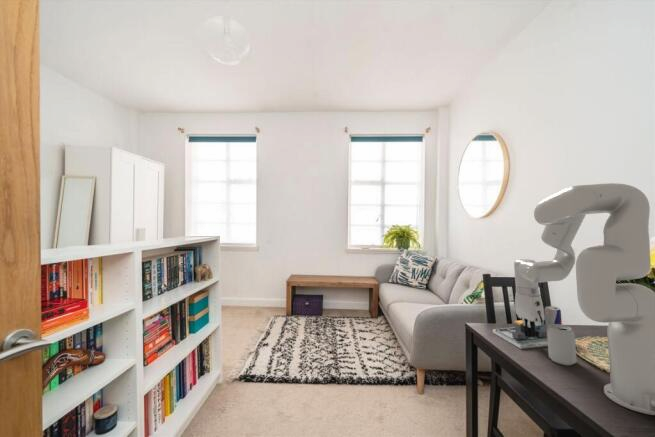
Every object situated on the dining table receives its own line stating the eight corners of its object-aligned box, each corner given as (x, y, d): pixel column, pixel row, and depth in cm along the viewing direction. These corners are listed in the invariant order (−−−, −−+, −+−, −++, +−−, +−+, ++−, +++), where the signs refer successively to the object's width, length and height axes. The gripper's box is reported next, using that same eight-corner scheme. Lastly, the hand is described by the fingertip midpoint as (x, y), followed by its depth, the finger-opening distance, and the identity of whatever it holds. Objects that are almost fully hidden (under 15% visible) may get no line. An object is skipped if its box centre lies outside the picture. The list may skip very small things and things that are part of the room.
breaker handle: (528, 335, 116) (527, 322, 116) (521, 336, 116) (520, 323, 116) (522, 332, 119) (521, 320, 119) (515, 333, 119) (514, 320, 119)
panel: (555, 345, 110) (554, 333, 110) (520, 348, 109) (519, 337, 109) (523, 329, 126) (522, 319, 126) (492, 332, 125) (492, 322, 125)
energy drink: (566, 339, 114) (564, 309, 114) (552, 339, 114) (550, 310, 114) (555, 334, 120) (553, 305, 120) (543, 334, 120) (541, 306, 120)
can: (564, 368, 94) (562, 332, 94) (543, 357, 101) (541, 324, 101) (582, 364, 95) (580, 329, 95) (560, 354, 103) (558, 321, 103)
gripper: (552, 294, 106) (555, 343, 106) (521, 285, 121) (524, 328, 120) (533, 296, 105) (536, 345, 105) (505, 286, 120) (507, 330, 120)
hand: (530, 336), depth 113 cm, fingers closed
